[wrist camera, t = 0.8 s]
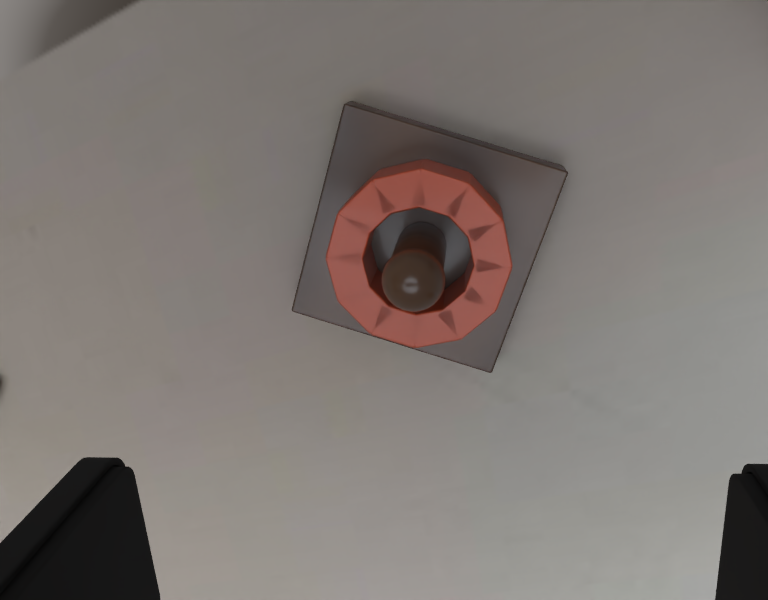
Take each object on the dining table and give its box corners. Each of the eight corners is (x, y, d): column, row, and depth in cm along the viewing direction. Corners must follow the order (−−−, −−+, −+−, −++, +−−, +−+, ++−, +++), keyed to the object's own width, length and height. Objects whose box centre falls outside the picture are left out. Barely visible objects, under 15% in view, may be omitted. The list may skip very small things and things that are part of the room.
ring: (321, 296, 29) (309, 316, 27) (363, 139, 27) (354, 147, 25) (475, 343, 29) (475, 368, 27) (531, 190, 27) (536, 203, 25)
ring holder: (298, 300, 31) (252, 366, 25) (350, 100, 28) (313, 115, 21) (490, 359, 31) (496, 442, 24) (564, 165, 28) (593, 201, 21)
